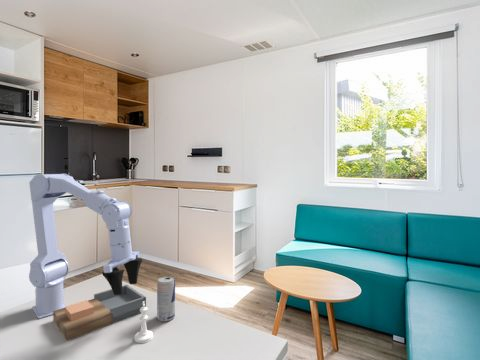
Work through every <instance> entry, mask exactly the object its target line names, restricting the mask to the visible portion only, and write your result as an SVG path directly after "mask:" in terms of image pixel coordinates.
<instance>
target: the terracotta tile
mask: <svg viewBox="0 0 480 360" xmlns="http://www.w3.org/2000/svg"><path fill="white" fill-rule="evenodd" d="M65 314H66V316H67V317H68V318H69V319H70V321H73V320H76V319H79V318H82V317H85V316H88V315H91V314H94V307H93V306H92V305H91V304H90V303H89V302H88V300H87V299H85V300H83V301H79V302H77V303H76V302H75V303H73V304H69V305H66V307H65Z"/></svg>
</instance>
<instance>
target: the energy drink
mask: <svg viewBox="0 0 480 360" xmlns="http://www.w3.org/2000/svg"><path fill="white" fill-rule="evenodd" d="M156 288H157V289H156V300H157V301H156V304H157V305H156V317H157V320H158V321H160V322H169V321H171V320H173V319H174V318H175V316H176V279H175V277H174V276H169V275H167V276H166V275H164V276H161V277H159V278H158V279H157V282H156Z"/></svg>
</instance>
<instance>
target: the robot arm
mask: <svg viewBox="0 0 480 360" xmlns="http://www.w3.org/2000/svg"><path fill="white" fill-rule="evenodd" d="M28 183H29V191H30V199H31V206H32V214H33V215H32V216H33V222H34V223H33V224H34V231H35V239H36V248H37V255H36V256H35V258H34V259H33V260H32V261H31V262H30V263H29V266H30V269H29V273H28V274H29V275H28V280H29V282H30V284H31V285H32V286H34V287H35V305H33V306H32V307H31V309H32V311H33V312H34V314H35V315H36V317H37V319H42V318H45V317H48V316H53V311H55V310H58V309H62V308H65V307H66V306H67V305H66V304H65V301H64V281H65V280H66V276H67V275H68V274H69V272H70V265H69V263H68V261H67V257H66V254H65V253H63V252H61V251H59V247H58V236H57V229H56V228H57V227H56V220H55V212H54V203H55V202H56V200H57V199H58V198H60V197H62V196H63V195H65V194H69V195H71V196H74V197H75V198H77V199H80V200H82V201H83V202H84V205H85V207H86V208H89V209H90V210H92V211H93V212H95V213H97V214H98V215H101V218H102V220H103V221H104V223H105V225H106V228H107V230H108V239H109V245H110V246H109V247H110V255H111V256H110V257H111V260H109V261H108V262H107V263H106V264H105V265H103V271H102V276H103V277H104V278H105V280H106V281H107V282H108V284H109V286H110V288H111V289H112V291H113V293H114V295H121V294H122V286H123V275H124V272H125V271H126V274H127V280H128V284H129V285H136V284H137V283H138V277H139V270H140V266H141V265H142V262H143V259H142V258H141V257H140V251H139V250H134V251H133V248H132V247H133V246H132V239H131V230H130V221H129V219H130V218H131V216H132V211H133V210H132V207H131V205H130V204H129V202H127V201H125V200H122V201H118V200H117V199H116V197H110V196H108V195H107V194H106V193H105V191H104V190H102V189H100V190H99V189H98V190H93V191H92V190H90V189H89V188H87V187H86V186H84V185H82V184H81V183H80V182H78V181H77V180H75V179H74V177H73V176H72V175H69V174H67V173H50V174H49V173H46V174H45V173H43V174H42V173H38V174H35V175H34V176H32V179H31V180H30V181H29V182H28ZM122 266H124V268H125V269H119V268H120V267H122Z"/></svg>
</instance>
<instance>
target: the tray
mask: <svg viewBox="0 0 480 360" xmlns="http://www.w3.org/2000/svg"><path fill="white" fill-rule="evenodd" d="M93 299H97V300H98V301H99V302H101V303H102V304H103V305H104V306H105V307H106V308H107V309H108V310H110V313H111V315H112V314H113V315H112V316H113V318H111V319H113V322H111V323H113V324H115V323H117V322H120V321H124V320H126V319H128V318H132V317H133V316H136V315H139V314H141V312H140V308H142V307H143V305H142V303H143V301H145V307H147V296H145V295H143V294H142V293H141V292H139V291H137V290H135V289H134V288H133V287H132V286H129V285H128V284H124V285H122V294H121V295H114V293H113V291H112V288H111V289H107V290H104V291H100V292H97V293H94V294H93ZM112 316H111V317H112ZM111 321H112V320H111Z"/></svg>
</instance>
